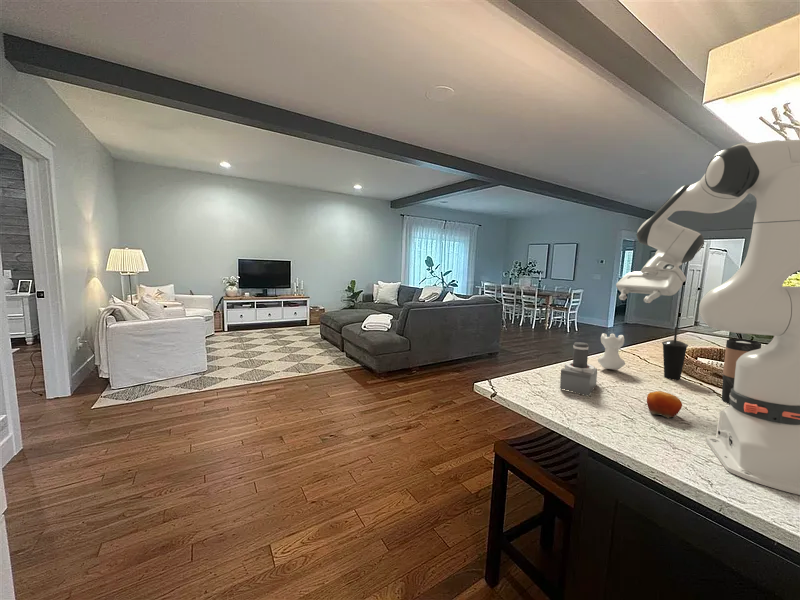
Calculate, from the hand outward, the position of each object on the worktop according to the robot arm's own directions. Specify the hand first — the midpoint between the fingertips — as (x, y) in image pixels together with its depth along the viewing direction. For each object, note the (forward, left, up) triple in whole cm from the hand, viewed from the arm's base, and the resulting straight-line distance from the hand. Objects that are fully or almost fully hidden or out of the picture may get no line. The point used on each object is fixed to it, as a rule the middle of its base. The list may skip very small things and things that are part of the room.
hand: (633, 300), depth 116 cm
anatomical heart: (+19, +8, -32) cm, 37 cm away
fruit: (-21, -10, -32) cm, 40 cm away
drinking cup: (+21, -12, -32) cm, 40 cm away
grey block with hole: (-12, +14, -31) cm, 36 cm away
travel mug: (+4, -28, -32) cm, 43 cm away
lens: (-12, +14, -25) cm, 31 cm away
